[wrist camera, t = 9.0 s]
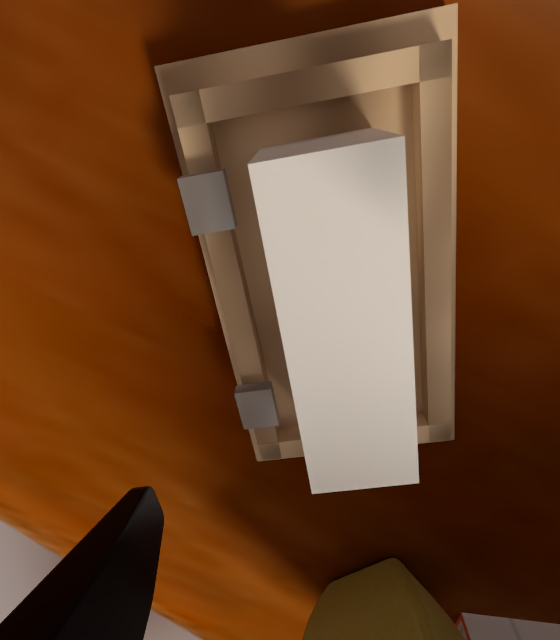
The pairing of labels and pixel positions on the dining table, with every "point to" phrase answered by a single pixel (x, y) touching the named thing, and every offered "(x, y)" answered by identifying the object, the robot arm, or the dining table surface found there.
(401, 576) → the flower pot
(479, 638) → the pasta box
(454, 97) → the beige rectangular tray
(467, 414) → the dining table surface
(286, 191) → the door
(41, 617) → the robot arm
